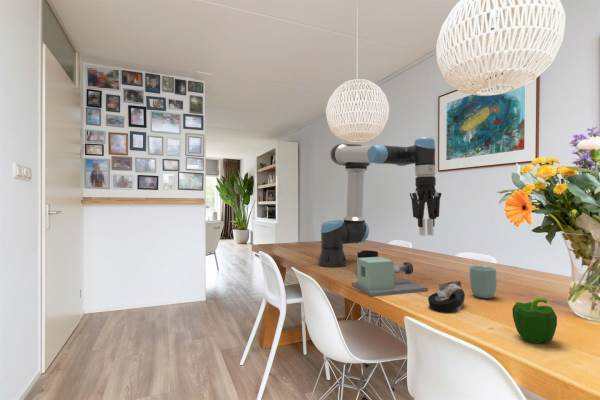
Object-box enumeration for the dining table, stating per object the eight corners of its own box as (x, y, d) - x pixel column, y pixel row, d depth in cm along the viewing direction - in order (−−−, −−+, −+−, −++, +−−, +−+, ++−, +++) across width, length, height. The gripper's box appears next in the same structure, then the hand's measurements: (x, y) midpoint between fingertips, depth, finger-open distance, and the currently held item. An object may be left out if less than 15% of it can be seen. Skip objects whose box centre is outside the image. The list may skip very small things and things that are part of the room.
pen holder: (354, 271, 148) (354, 250, 148) (373, 270, 150) (373, 250, 150) (362, 276, 139) (361, 253, 139) (381, 275, 141) (381, 253, 141)
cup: (489, 293, 110) (488, 265, 110) (501, 300, 102) (500, 270, 102) (466, 293, 110) (465, 265, 111) (476, 300, 103) (476, 270, 103)
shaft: (371, 275, 120) (370, 263, 120) (406, 272, 124) (405, 261, 124) (376, 278, 115) (376, 265, 115) (413, 275, 119) (413, 263, 120)
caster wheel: (434, 320, 93) (427, 304, 102) (474, 315, 90) (463, 299, 100) (429, 299, 92) (423, 285, 102) (470, 293, 90) (459, 279, 99)
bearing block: (351, 285, 124) (351, 257, 124) (402, 280, 130) (402, 253, 130) (371, 296, 108) (370, 264, 109) (427, 290, 114) (427, 260, 115)
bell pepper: (505, 337, 75) (504, 295, 75) (522, 329, 79) (521, 290, 79) (547, 351, 67) (546, 305, 68) (563, 342, 72) (562, 298, 72)
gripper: (413, 175, 119) (414, 237, 118) (448, 175, 123) (450, 235, 122) (402, 177, 126) (403, 235, 125) (435, 177, 130) (437, 233, 130)
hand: (426, 235), depth 124 cm, fingers open, 3 cm apart
